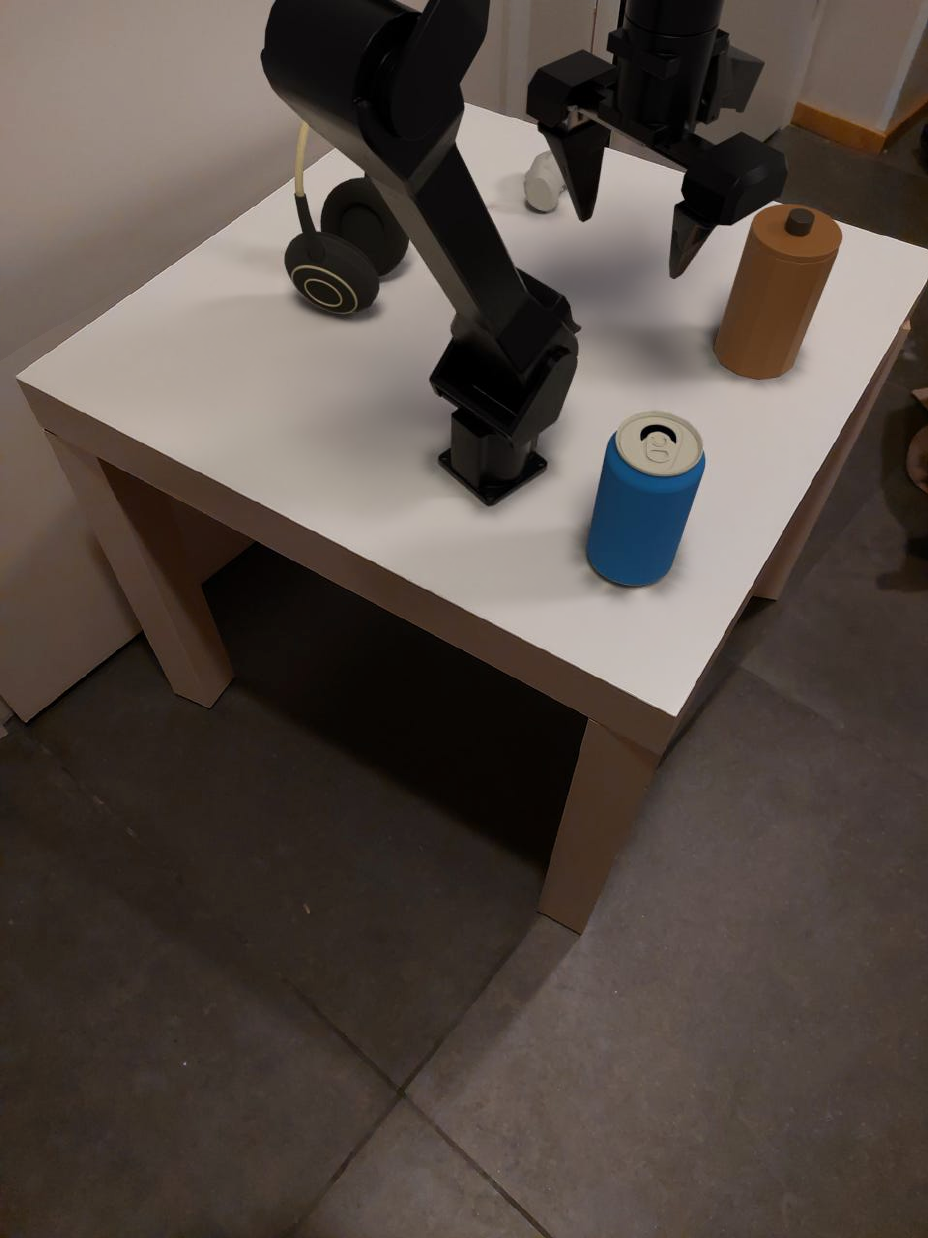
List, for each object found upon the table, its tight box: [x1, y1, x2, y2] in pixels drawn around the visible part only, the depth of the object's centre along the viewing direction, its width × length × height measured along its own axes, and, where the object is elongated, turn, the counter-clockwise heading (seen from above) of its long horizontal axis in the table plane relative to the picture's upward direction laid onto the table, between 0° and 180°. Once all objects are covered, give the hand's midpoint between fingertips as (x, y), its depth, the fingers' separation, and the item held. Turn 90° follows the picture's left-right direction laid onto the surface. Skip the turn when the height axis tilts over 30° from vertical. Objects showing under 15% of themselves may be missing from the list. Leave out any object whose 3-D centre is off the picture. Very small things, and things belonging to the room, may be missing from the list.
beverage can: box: [586, 410, 706, 587], centre depth 63 cm, size 6×6×12 cm
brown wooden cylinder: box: [713, 203, 843, 380], centre depth 75 cm, size 7×7×13 cm
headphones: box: [283, 118, 410, 315], centre depth 76 cm, size 9×15×20 cm, turn 160°
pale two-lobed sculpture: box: [524, 149, 566, 212], centre depth 93 cm, size 4×8×5 cm
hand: (629, 246), depth 67 cm, fingers open, 9 cm apart
